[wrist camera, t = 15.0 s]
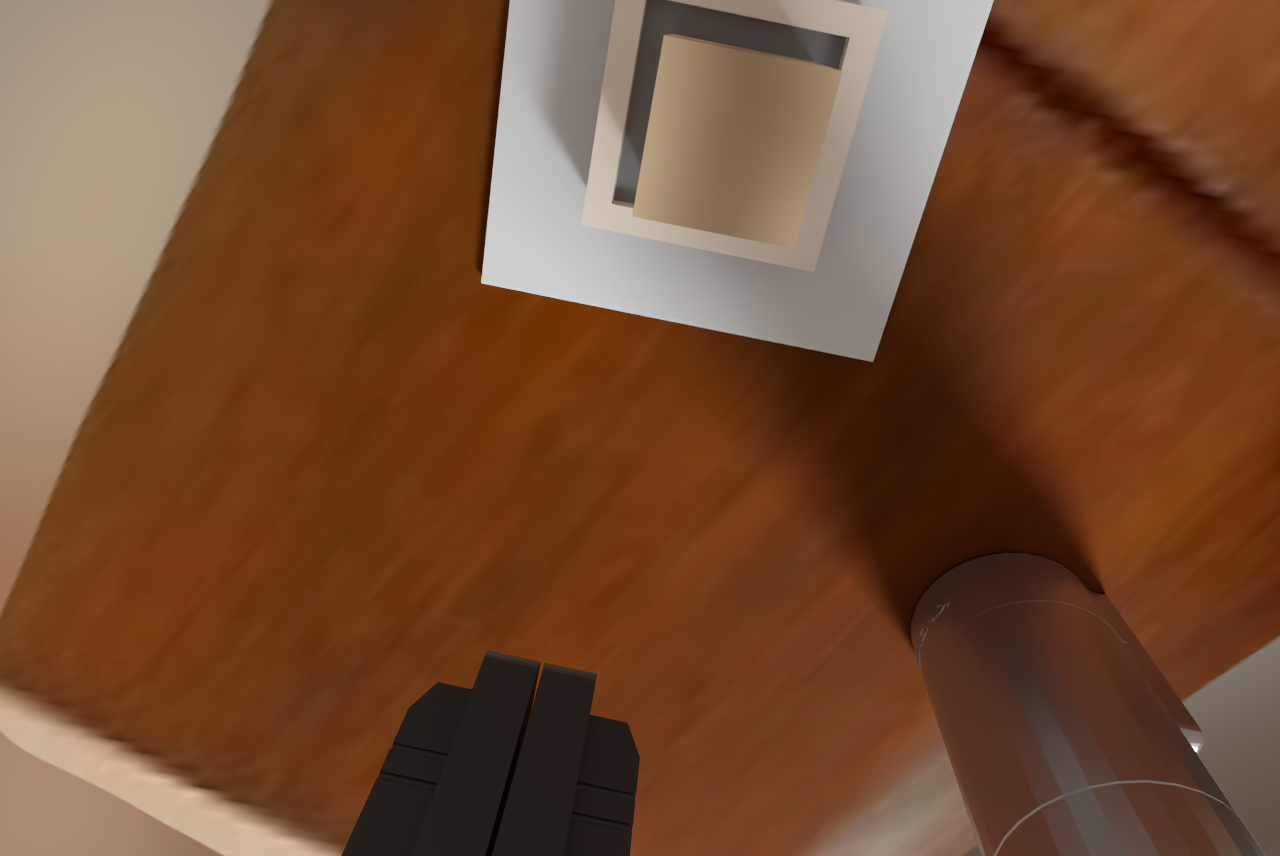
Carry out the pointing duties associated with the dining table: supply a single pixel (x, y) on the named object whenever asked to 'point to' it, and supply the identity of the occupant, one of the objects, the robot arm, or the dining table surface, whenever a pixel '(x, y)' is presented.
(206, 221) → the dining table surface
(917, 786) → the dining table surface
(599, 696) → the dining table surface
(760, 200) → the maple block
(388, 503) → the dining table surface
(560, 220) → the square block holder
